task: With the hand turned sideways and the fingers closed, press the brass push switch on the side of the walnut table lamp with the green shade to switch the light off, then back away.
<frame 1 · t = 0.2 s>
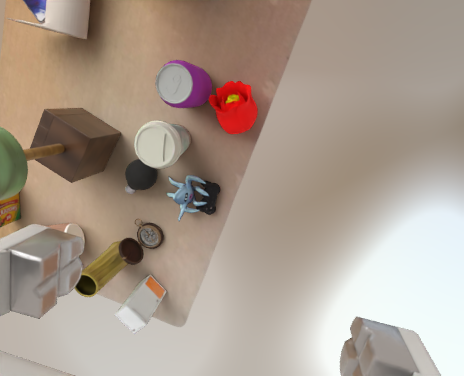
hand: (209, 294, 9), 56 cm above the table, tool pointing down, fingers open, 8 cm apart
compass: (146, 233, 73), on the table
lamp: (92, 140, 69), on the table
figurine: (193, 195, 69), on the table
light bulb: (145, 175, 69), on the table
coffee cup 2: (76, 237, 72), point 3 cm above the table
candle: (47, 30, 60), point 5 cm above the table, touching smartphone
flower: (241, 126, 61), point 1 cm above the table
cosmetic box: (153, 285, 77), on the table
beverage can: (194, 87, 63), on the table
crayon box: (4, 223, 75), point 4 cm above the table
smartphone: (54, 14, 63), on the table, touching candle
vase: (122, 252, 76), on the table
coffee cup: (177, 138, 66), on the table
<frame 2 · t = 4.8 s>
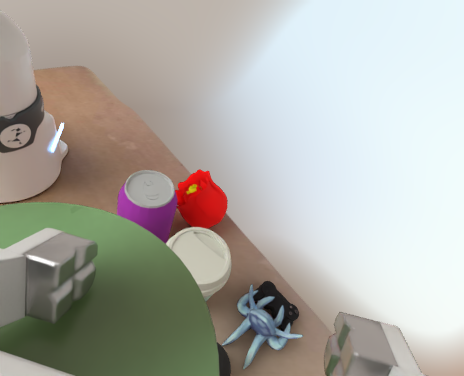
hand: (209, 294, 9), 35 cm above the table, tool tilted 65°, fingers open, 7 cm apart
figurine: (262, 332, 45), on the table
flower: (215, 220, 54), point 1 cm above the table
beverage can: (142, 239, 49), on the table
coffee cup: (181, 297, 45), on the table
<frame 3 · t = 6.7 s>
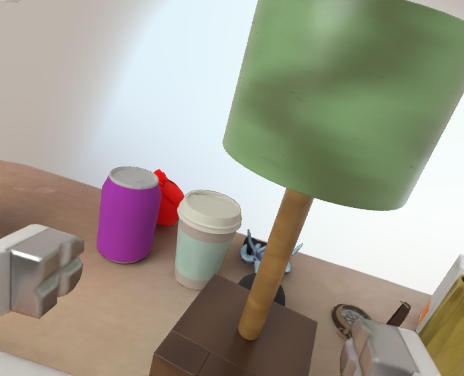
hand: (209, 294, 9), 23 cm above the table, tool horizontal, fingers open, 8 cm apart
compass: (354, 333, 43), on the table
figurine: (267, 274, 51), on the table
light bulb: (260, 323, 41), on the table
flower: (175, 215, 56), point 1 cm above the table
cosmetic box: (430, 332, 47), on the table
beverage can: (124, 251, 46), on the table
coffee cup: (194, 276, 45), on the table
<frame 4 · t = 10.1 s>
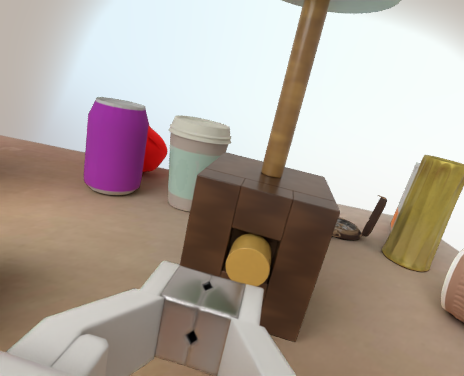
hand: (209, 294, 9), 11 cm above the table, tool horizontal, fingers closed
compass: (341, 236, 47), on the table
lamp: (241, 287, 29), on the table
switch: (249, 259, 22), point 6 cm above the table, slide at 0.1 cm
coffee cup 2: (453, 277, 33), point 4 cm above the table
flower: (156, 164, 56), point 1 cm above the table
cosmetic box: (401, 235, 53), on the table
beverage can: (112, 188, 45), on the table
vase: (404, 260, 44), on the table
coffee cup: (187, 204, 46), on the table
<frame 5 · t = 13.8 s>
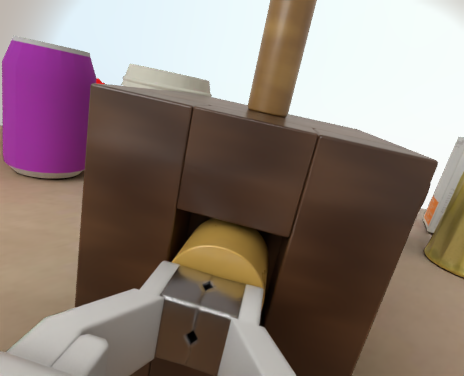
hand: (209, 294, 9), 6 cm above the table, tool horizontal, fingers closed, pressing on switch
lamp: (217, 322, 17), on the table
switch: (220, 271, 10), point 6 cm above the table, slide at -0.5 cm, touching gripper
cosmetic box: (440, 232, 41), on the table
beverage can: (48, 170, 33), on the table
vase: (456, 267, 31), on the table
coffee cup: (153, 192, 33), on the table
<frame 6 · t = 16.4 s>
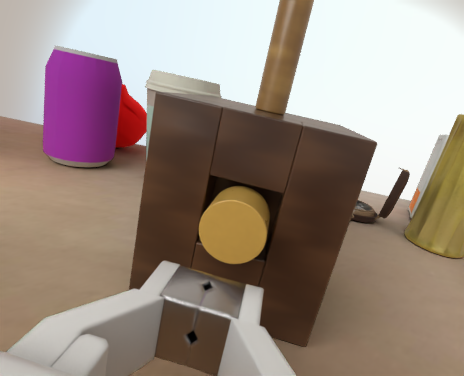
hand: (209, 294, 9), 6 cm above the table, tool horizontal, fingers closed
compass: (354, 219, 40), on the table
lamp: (230, 272, 22), on the table
switch: (236, 223, 15), point 6 cm above the table, slide at 0.1 cm
flower: (137, 139, 49), point 2 cm above the table
cosmetic box: (422, 220, 46), on the table
beverage can: (79, 160, 38), on the table
vase: (431, 246, 36), on the table
coffee cup: (170, 181, 38), on the table
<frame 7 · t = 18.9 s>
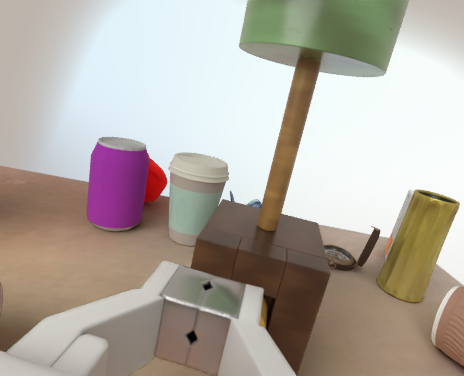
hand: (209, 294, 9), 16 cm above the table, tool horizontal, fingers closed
compass: (337, 265, 49), on the table
lamp: (240, 330, 31), on the table
switch: (246, 316, 24), point 6 cm above the table, slide at 0.1 cm
coffee cup 2: (443, 314, 35), point 4 cm above the table
flower: (156, 193, 58), point 1 cm above the table
cosmetic box: (396, 260, 55), on the table
beverage can: (114, 222, 47), on the table
vase: (398, 290, 45), on the table
coffee cup: (187, 237, 47), on the table
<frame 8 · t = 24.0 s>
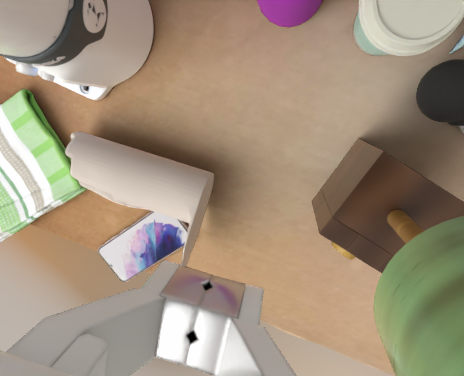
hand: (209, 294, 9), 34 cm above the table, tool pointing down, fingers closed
lamp: (366, 191, 41), on the table
switch: (348, 243, 37), point 6 cm above the table, slide at 0.1 cm
light bulb: (445, 98, 37), on the table
dish towel: (11, 172, 50), on the table, touching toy
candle: (199, 224, 41), point 5 cm above the table, touching smartphone
smartphone: (183, 218, 46), on the table, touching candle
coffee cup: (378, 28, 36), on the table
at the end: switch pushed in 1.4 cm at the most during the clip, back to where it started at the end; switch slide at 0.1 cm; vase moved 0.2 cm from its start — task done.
